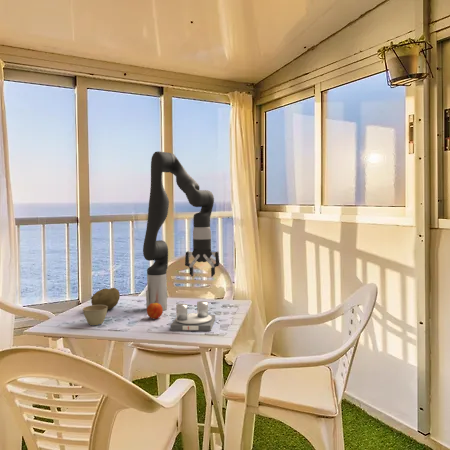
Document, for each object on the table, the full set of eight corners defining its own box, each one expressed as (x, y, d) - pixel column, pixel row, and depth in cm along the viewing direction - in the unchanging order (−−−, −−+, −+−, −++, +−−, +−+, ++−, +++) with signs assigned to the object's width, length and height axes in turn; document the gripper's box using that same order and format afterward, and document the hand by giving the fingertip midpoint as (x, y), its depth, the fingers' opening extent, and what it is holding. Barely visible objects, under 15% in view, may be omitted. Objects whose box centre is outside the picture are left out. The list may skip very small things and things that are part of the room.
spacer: (196, 317, 172) (196, 303, 171) (198, 314, 176) (198, 301, 176) (207, 317, 171) (207, 303, 171) (208, 314, 176) (208, 301, 175)
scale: (170, 330, 164) (170, 323, 164) (178, 319, 180) (178, 312, 180) (210, 331, 162) (210, 324, 162) (215, 319, 179) (215, 313, 179)
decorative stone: (106, 315, 189) (105, 293, 189) (85, 313, 192) (84, 292, 192) (125, 306, 205) (124, 286, 205) (105, 305, 208) (104, 285, 208)
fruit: (149, 321, 178) (148, 303, 177) (145, 317, 184) (144, 300, 184) (164, 319, 181) (164, 301, 180) (160, 315, 187) (160, 298, 187)
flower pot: (82, 322, 177) (81, 306, 177) (106, 319, 181) (105, 303, 181) (84, 328, 168) (83, 311, 168) (109, 325, 172) (109, 308, 171)
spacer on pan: (175, 320, 167) (175, 306, 167) (177, 317, 172) (177, 303, 172) (186, 320, 167) (186, 306, 167) (188, 317, 171) (188, 303, 171)
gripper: (183, 238, 169) (184, 277, 170) (217, 238, 168) (218, 278, 169) (186, 237, 177) (187, 274, 178) (219, 237, 175) (220, 274, 176)
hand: (202, 276), depth 173 cm, fingers open, 8 cm apart
